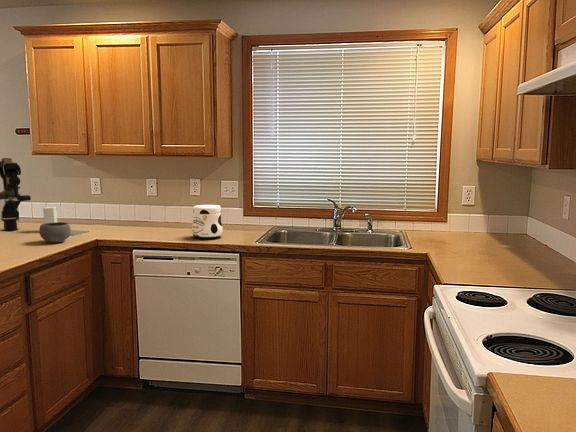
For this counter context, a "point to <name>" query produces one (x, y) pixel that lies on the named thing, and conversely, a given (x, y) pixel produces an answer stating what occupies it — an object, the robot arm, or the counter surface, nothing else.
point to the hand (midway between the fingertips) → (14, 212)
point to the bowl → (54, 231)
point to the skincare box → (50, 214)
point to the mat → (77, 232)
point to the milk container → (207, 221)
